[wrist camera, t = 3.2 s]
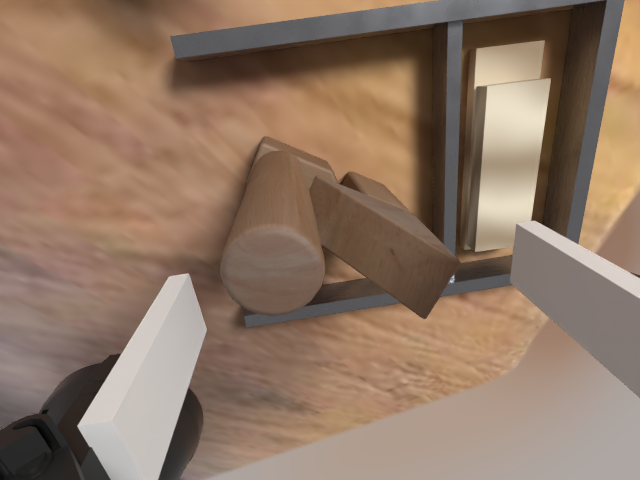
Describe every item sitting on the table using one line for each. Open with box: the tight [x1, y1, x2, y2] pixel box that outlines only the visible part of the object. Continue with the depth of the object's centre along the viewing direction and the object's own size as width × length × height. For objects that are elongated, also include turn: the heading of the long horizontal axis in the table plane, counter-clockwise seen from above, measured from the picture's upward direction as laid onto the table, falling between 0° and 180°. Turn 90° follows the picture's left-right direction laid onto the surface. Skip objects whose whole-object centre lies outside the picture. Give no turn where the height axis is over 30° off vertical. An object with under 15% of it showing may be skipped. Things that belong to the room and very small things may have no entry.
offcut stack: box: [459, 40, 551, 252], centre depth 28 cm, size 16×5×3 cm, turn 6°
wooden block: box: [220, 137, 460, 319], centre depth 21 cm, size 4×11×18 cm, turn 67°
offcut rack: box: [170, 0, 624, 327], centre depth 28 cm, size 22×29×3 cm
